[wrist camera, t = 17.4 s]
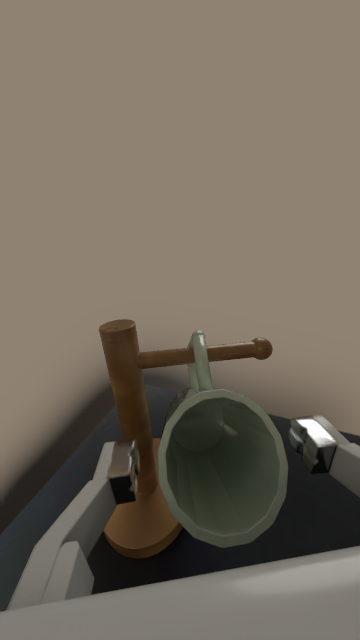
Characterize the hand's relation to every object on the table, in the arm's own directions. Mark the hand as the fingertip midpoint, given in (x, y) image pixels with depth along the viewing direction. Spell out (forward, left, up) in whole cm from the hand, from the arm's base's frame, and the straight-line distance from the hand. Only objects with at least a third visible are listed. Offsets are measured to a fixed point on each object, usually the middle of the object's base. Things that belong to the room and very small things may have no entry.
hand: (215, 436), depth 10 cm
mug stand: (-2, +5, -13) cm, 14 cm away
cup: (-1, +9, -6) cm, 11 cm away
